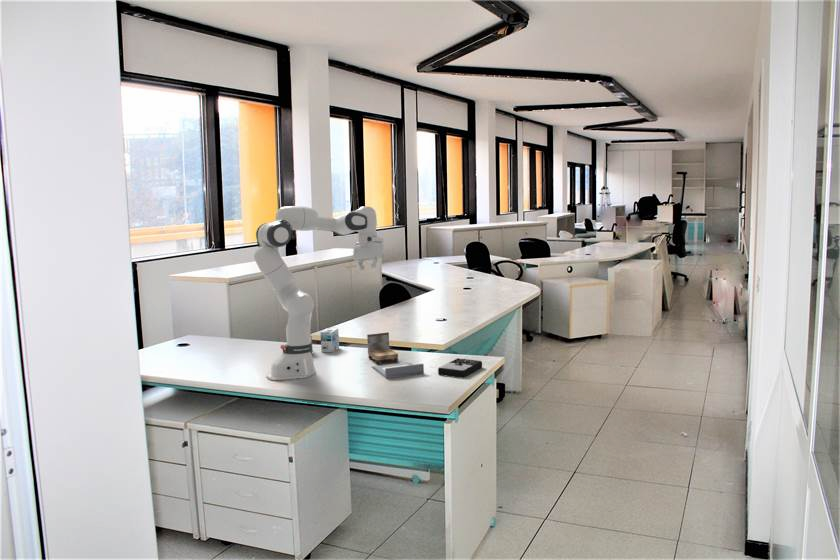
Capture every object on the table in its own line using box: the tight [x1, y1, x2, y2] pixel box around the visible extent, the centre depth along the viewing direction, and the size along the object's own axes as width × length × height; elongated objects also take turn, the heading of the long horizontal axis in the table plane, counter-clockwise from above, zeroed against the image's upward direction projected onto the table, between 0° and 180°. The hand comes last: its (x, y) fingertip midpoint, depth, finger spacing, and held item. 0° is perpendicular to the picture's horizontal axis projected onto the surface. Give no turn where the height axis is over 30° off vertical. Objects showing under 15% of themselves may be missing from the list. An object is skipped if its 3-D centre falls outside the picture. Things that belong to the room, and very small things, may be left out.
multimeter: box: [437, 357, 483, 379], centre depth 313 cm, size 13×19×5 cm
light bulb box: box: [320, 327, 340, 353], centre depth 363 cm, size 11×7×11 cm, turn 168°
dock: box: [370, 361, 425, 380], centre depth 319 cm, size 18×24×6 cm
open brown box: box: [366, 332, 399, 365], centre depth 337 cm, size 11×14×12 cm
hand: (367, 268), depth 329 cm, fingers open, 8 cm apart
